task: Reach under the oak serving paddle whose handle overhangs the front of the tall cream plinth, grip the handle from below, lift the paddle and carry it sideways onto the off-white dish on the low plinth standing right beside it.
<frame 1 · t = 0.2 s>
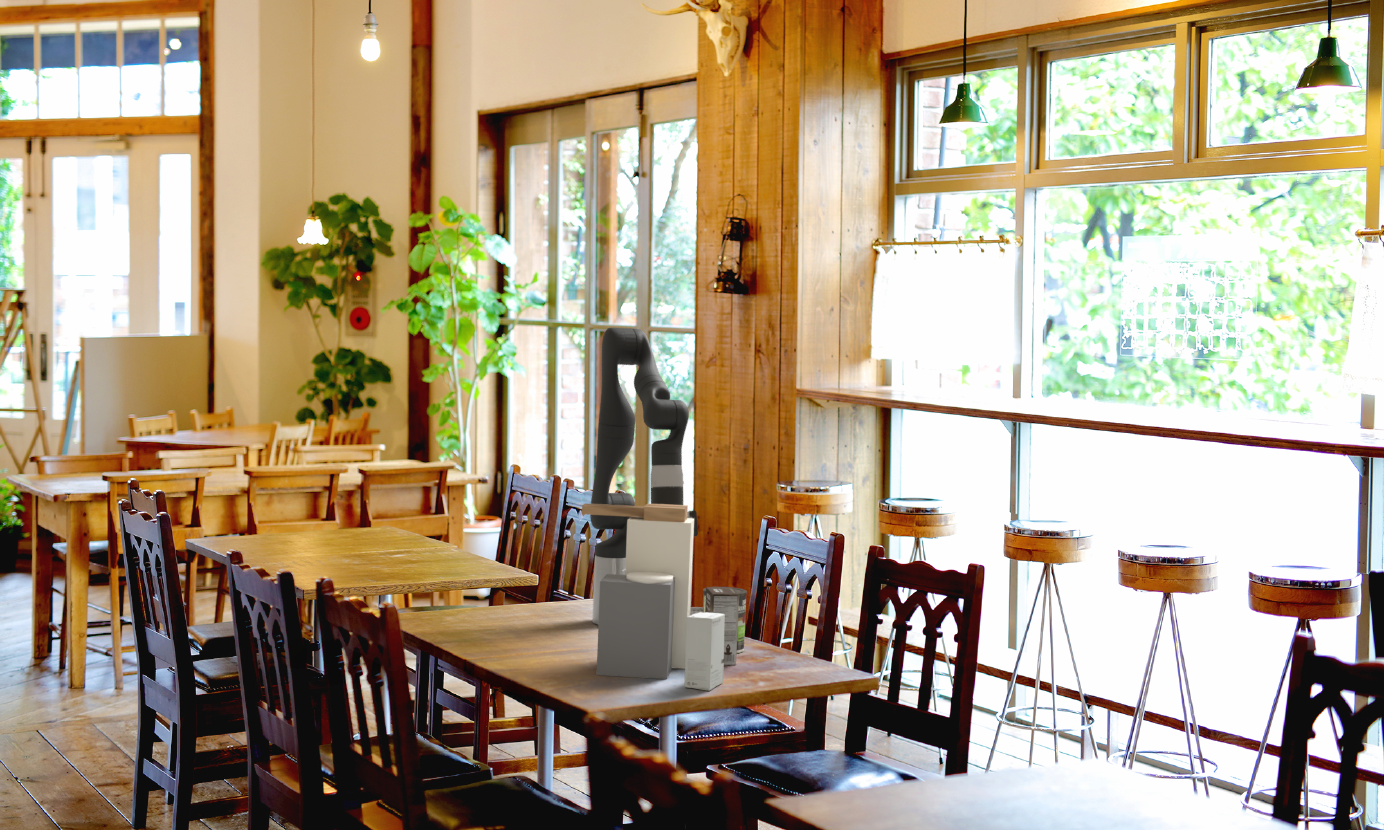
hand: (667, 556, 300), 22 cm above the table, tool pointing down, fingers open, 8 cm apart
oak paddle: (665, 519, 289), point 32 cm above the table, touching tall plinth
mug: (700, 638, 319), on the table
coffee can: (722, 650, 307), on the table
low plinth: (634, 671, 281), on the table
skincare box: (703, 686, 271), on the table
coffee box: (719, 661, 295), on the table
tall plinth: (655, 662, 291), on the table
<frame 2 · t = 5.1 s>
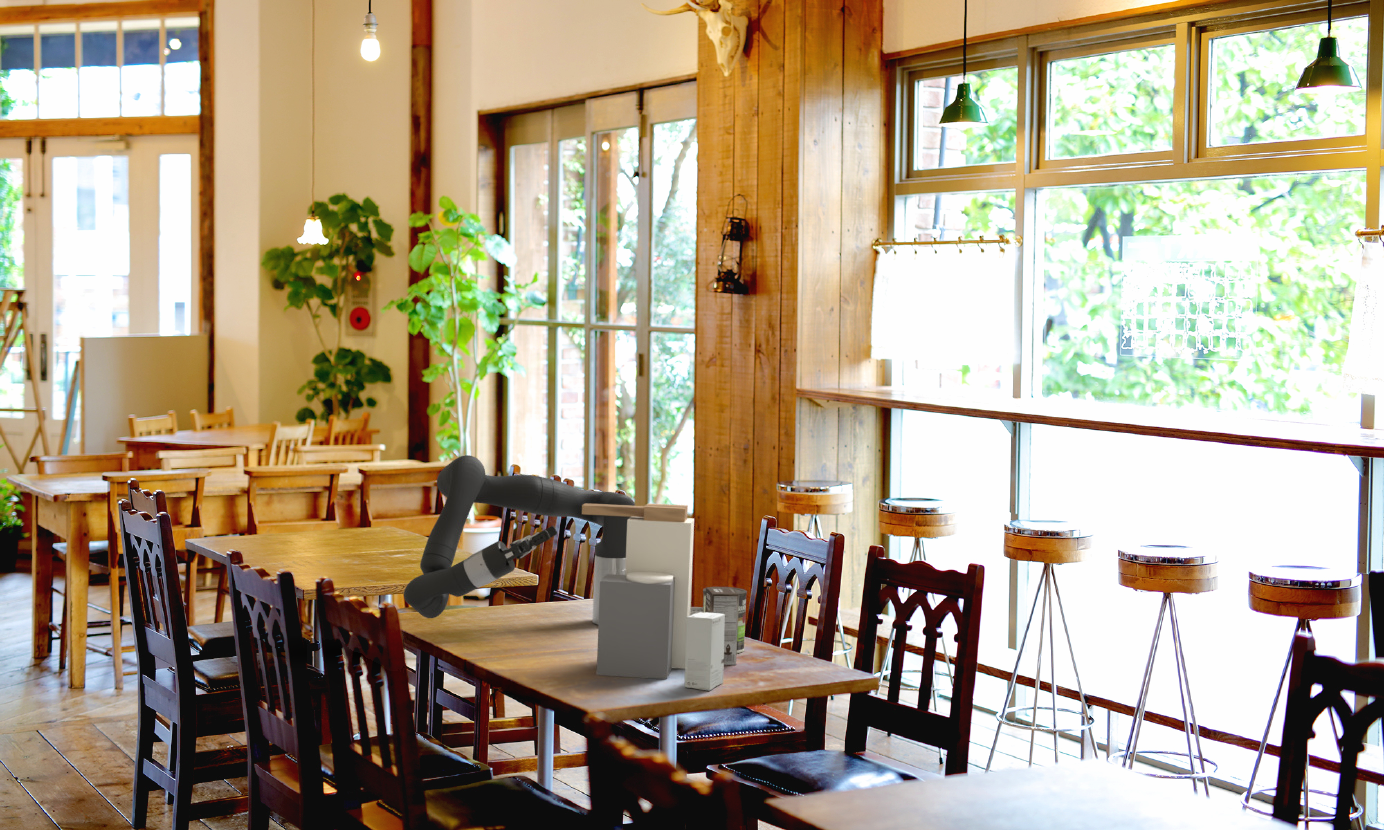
hand: (552, 531, 292), 28 cm above the table, tool pointing upward, fingers open, 8 cm apart
nothing on the table moved.
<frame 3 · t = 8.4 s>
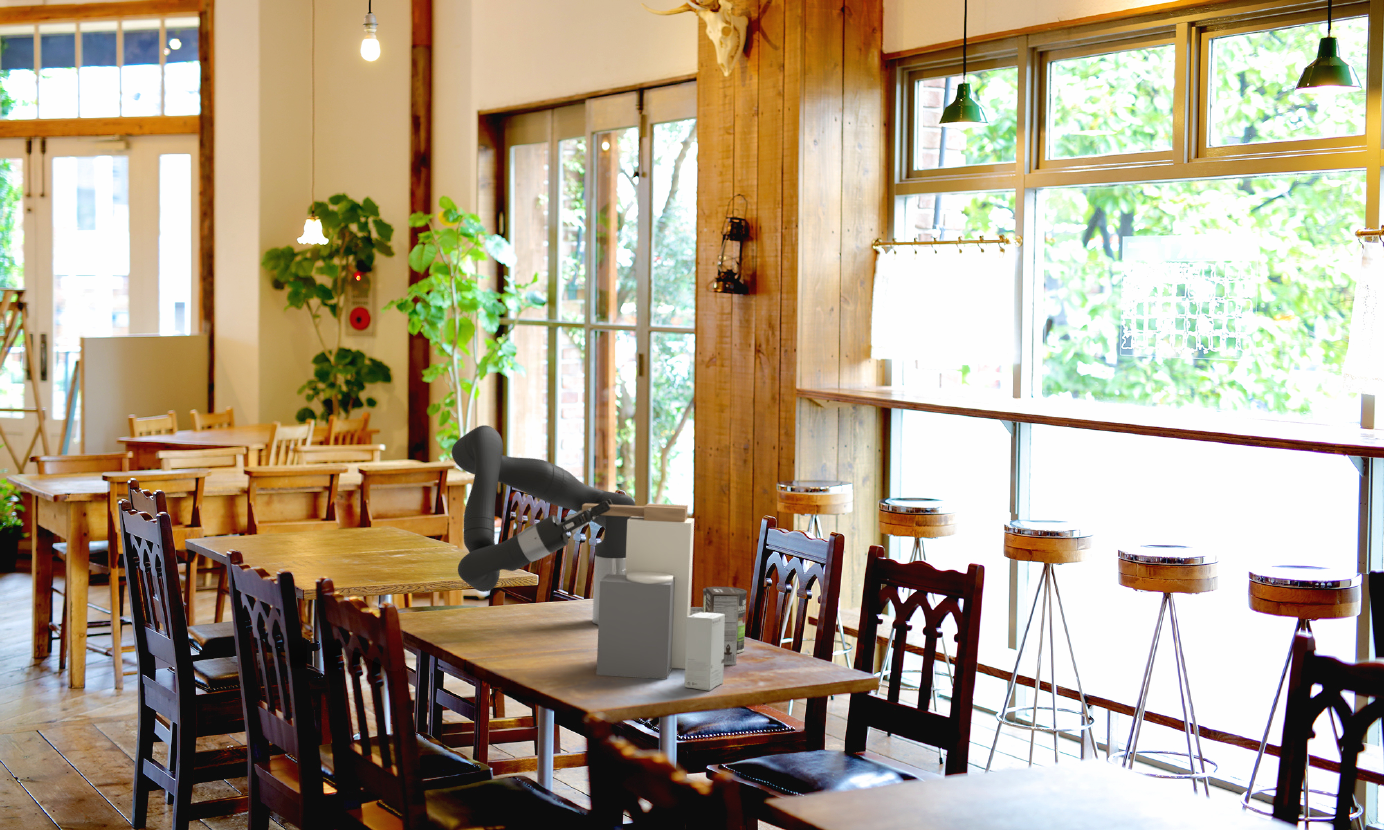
hand: (609, 503, 290), 35 cm above the table, tool pointing upward, fingers closed on oak paddle, 4 cm apart
oak paddle: (665, 519, 289), point 32 cm above the table, touching gripper, tall plinth
everything else where it was.
when the fingers open (26 cm above the table, at t = 14.5 s): oak paddle stays where it is, resting on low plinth.
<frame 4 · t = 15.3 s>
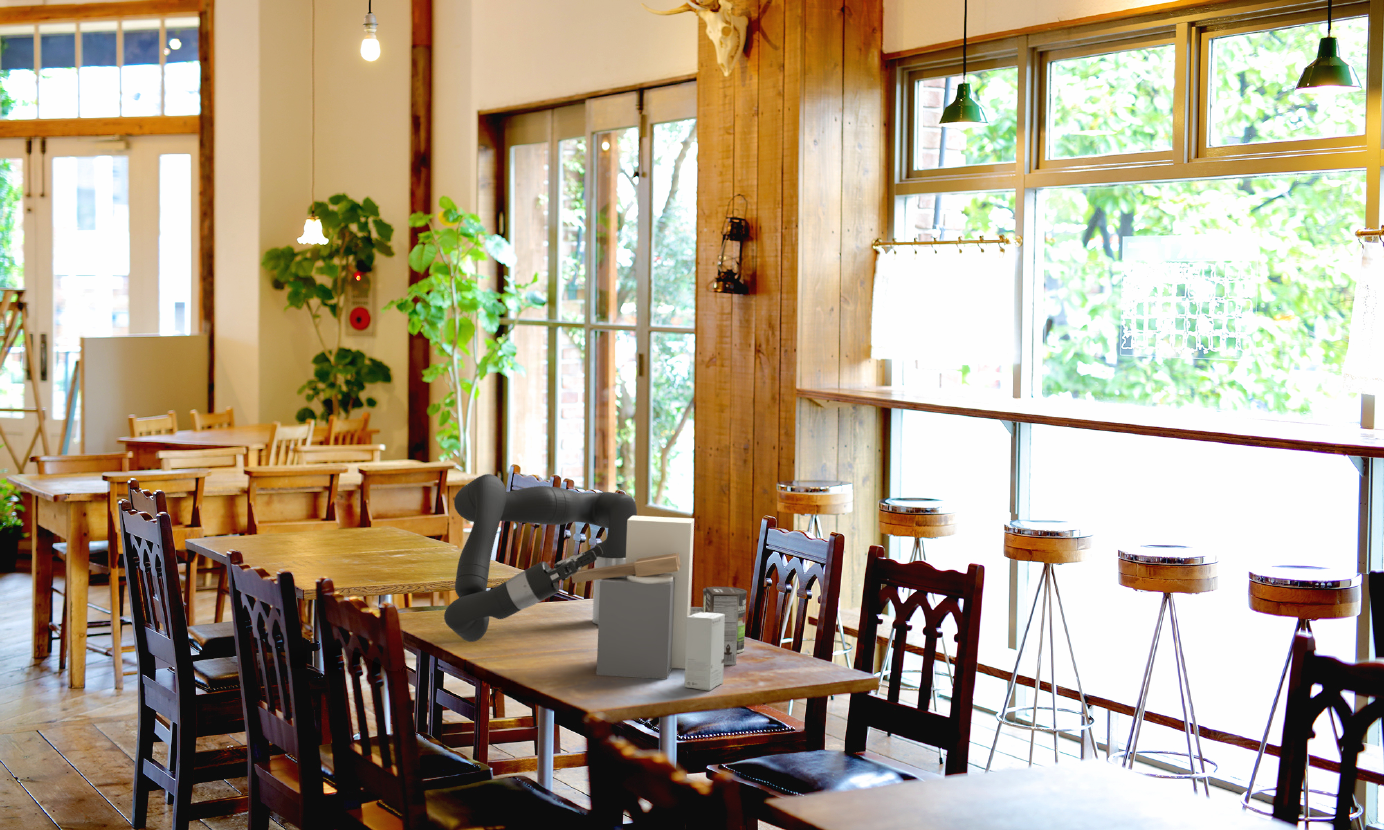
hand: (598, 551, 281), 25 cm above the table, tool pointing upward, fingers open, 8 cm apart
oak paddle: (658, 571, 280), point 22 cm above the table, tilted 11°, touching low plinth
everything else where it was.
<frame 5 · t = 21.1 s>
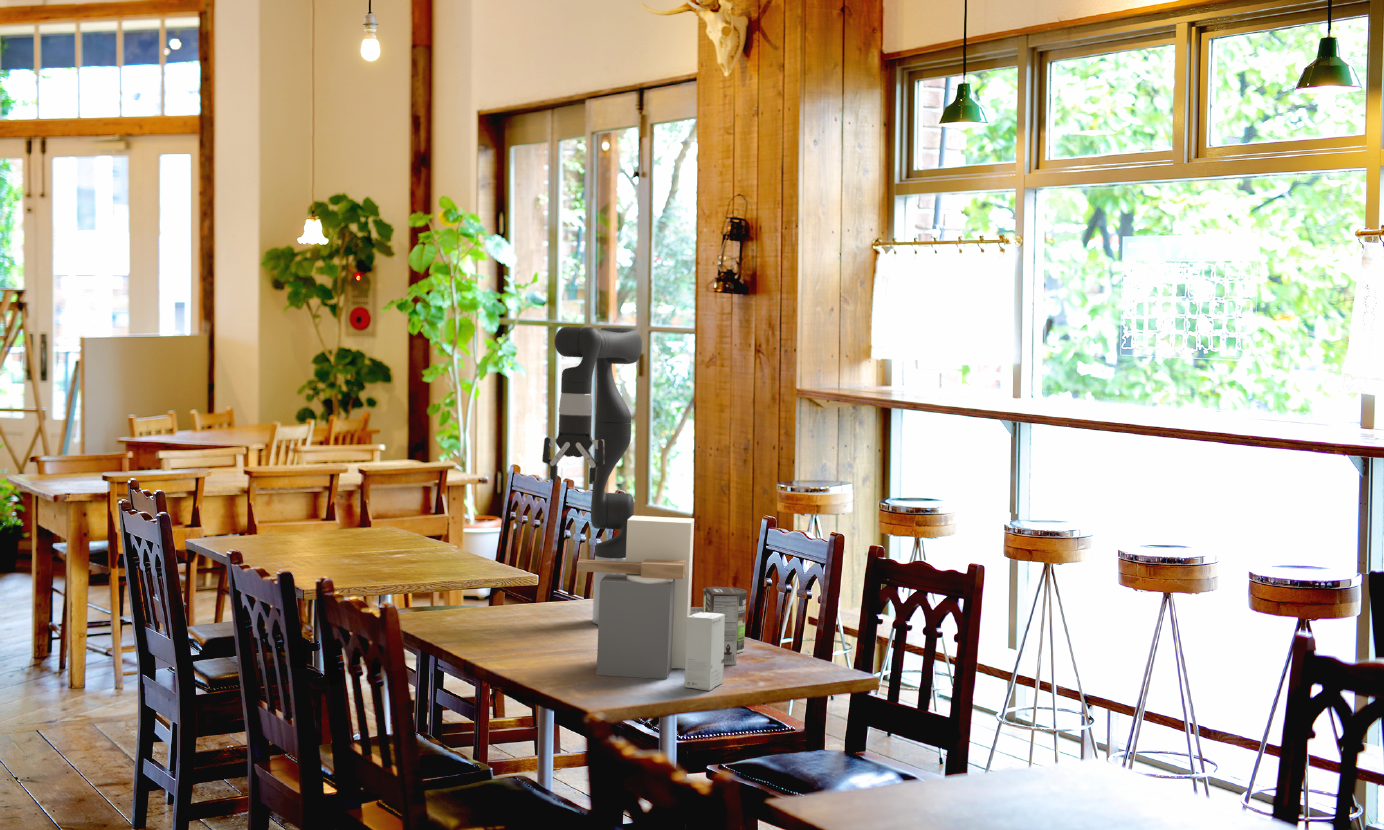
hand: (572, 482, 302), 38 cm above the table, tool pointing down, fingers open, 8 cm apart
oak paddle: (663, 575, 280), point 21 cm above the table, touching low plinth
everything else where it was.
at the end: oak paddle inside the target area (1.4 cm from its centre), point 21.0 cm above the table; the gripper is holding nothing; oak paddle tilted 0° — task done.
